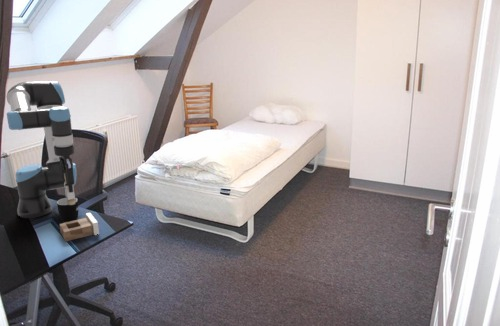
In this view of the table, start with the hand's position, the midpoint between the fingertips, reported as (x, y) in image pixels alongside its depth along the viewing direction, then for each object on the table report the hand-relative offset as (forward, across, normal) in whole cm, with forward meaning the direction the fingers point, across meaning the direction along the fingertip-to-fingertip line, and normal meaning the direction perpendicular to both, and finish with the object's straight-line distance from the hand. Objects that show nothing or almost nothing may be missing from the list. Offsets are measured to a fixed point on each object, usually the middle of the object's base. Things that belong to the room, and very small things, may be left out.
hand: (70, 197), depth 170 cm
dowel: (+3, 0, 0) cm, 3 cm away
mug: (+18, -17, +2) cm, 25 cm away
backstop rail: (+18, 0, +8) cm, 19 cm away
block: (+18, 0, +1) cm, 18 cm away
